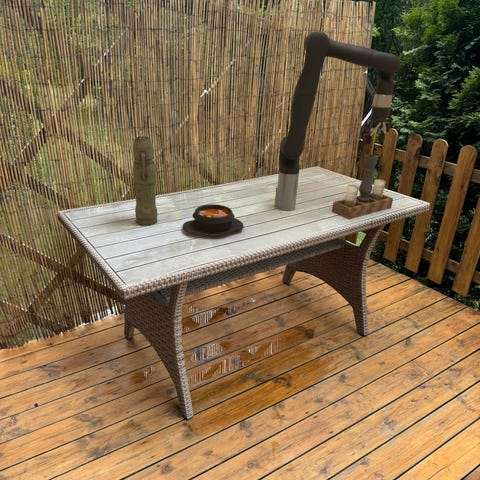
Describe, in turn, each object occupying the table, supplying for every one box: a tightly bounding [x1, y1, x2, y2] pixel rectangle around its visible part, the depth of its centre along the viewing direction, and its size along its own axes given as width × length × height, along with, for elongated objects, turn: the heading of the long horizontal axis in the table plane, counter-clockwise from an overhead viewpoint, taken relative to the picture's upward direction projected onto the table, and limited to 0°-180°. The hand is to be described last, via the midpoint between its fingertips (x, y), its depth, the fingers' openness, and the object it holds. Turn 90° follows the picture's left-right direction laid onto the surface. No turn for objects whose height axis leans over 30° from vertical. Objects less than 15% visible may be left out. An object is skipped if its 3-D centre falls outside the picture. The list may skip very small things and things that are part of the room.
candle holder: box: [357, 153, 379, 204], centre depth 196 cm, size 6×6×25 cm
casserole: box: [182, 203, 244, 236], centre depth 172 cm, size 25×19×8 cm
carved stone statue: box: [132, 136, 158, 227], centre depth 170 cm, size 9×12×35 cm
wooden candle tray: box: [331, 178, 394, 220], centre depth 199 cm, size 30×10×13 cm, turn 124°
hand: (374, 143), depth 188 cm, fingers open, 8 cm apart
